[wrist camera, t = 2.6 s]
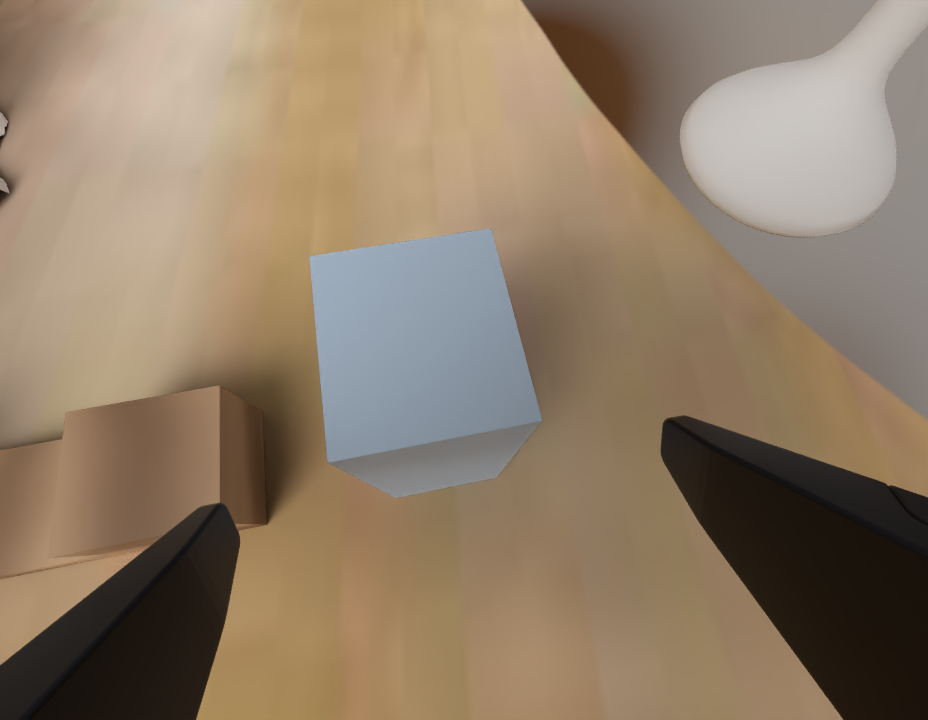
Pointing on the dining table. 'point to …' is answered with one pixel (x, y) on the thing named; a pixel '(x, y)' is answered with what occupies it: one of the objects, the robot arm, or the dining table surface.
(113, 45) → the dining table surface
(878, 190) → the flower in vase
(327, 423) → the blue block
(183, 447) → the slotted plank
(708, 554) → the dining table surface
